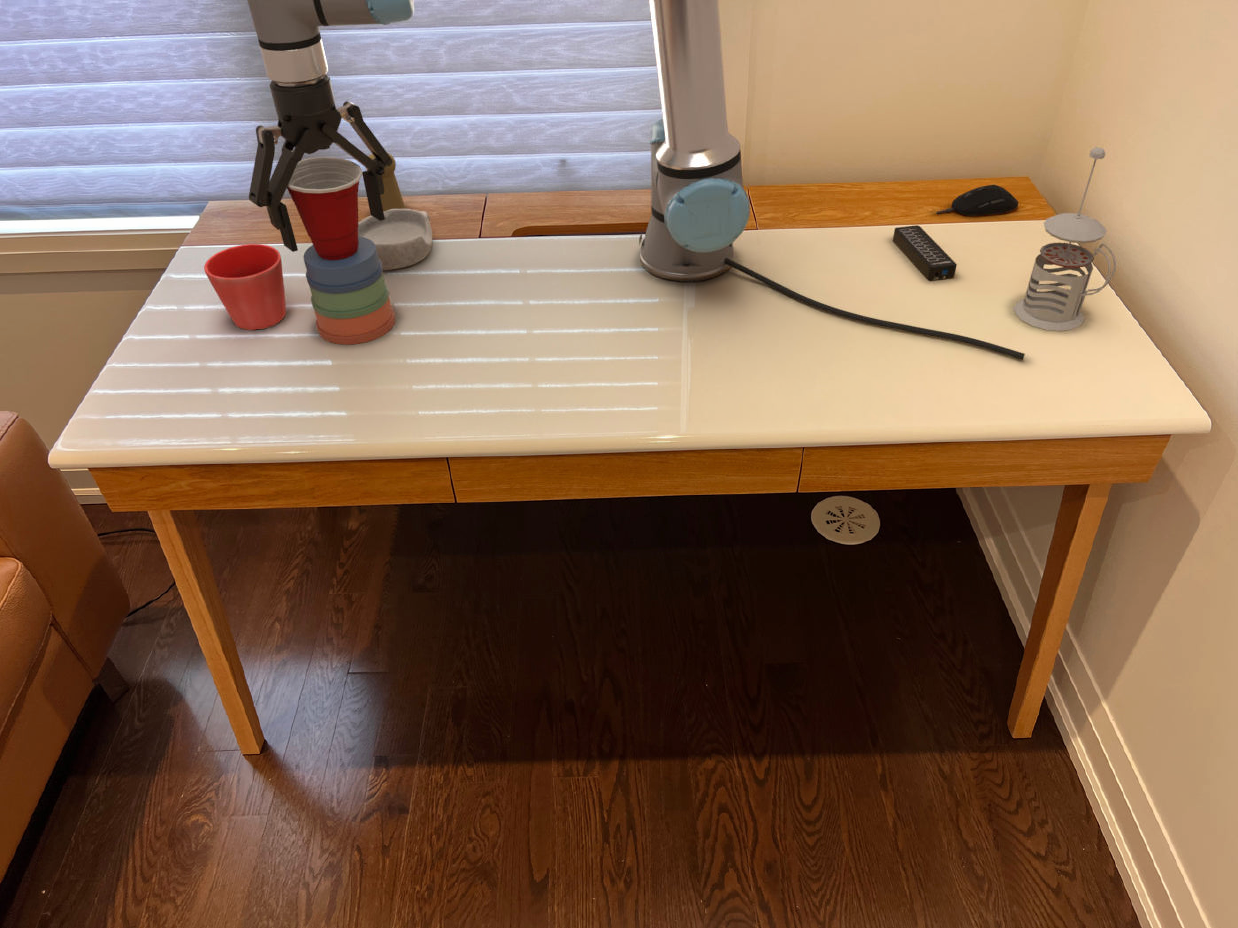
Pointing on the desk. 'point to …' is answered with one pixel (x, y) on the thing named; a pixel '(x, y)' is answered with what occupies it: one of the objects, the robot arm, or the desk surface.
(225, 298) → the flower pot
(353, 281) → the cup stack
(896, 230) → the multiport hub
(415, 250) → the dish
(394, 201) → the wooden peg doll
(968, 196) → the gaming mouse
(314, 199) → the plastic cup
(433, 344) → the desk surface
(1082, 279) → the french press
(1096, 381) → the desk surface
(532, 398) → the desk surface
